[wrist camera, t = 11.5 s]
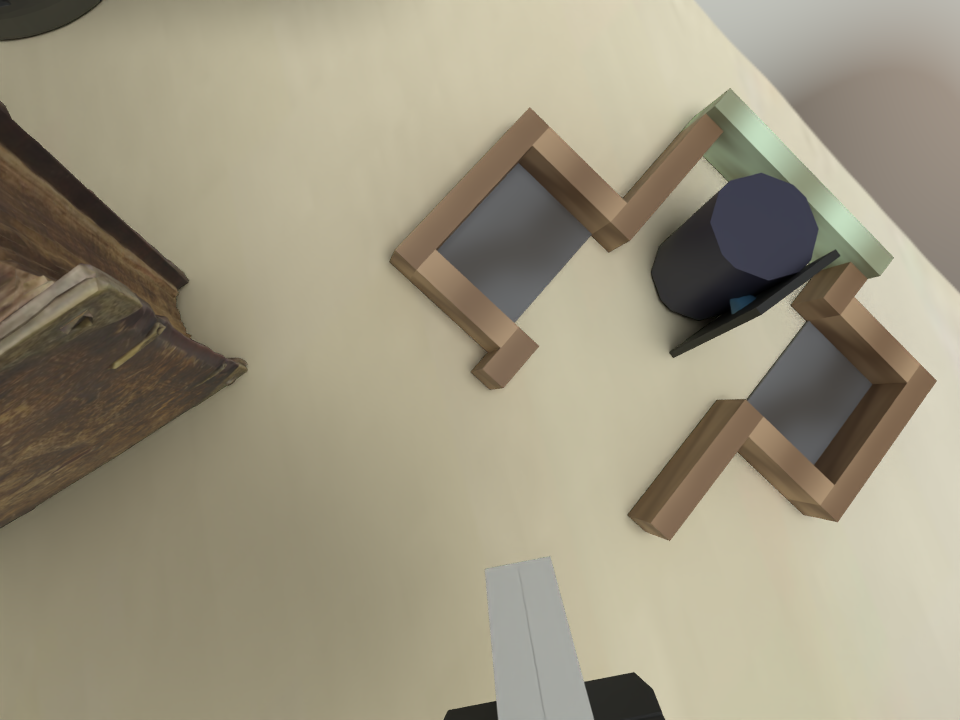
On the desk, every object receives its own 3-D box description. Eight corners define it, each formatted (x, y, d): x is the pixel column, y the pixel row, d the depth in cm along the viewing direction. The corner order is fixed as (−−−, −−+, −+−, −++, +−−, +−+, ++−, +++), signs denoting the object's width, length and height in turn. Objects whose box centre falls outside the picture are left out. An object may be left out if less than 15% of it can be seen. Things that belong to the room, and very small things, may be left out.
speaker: (755, 337, 44) (868, 297, 34) (670, 358, 43) (761, 324, 33) (719, 222, 45) (820, 149, 35) (635, 240, 44) (713, 170, 34)
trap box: (371, 281, 39) (376, 266, 36) (608, 29, 44) (637, -9, 40) (734, 612, 43) (775, 632, 39) (922, 348, 47) (976, 343, 43)
